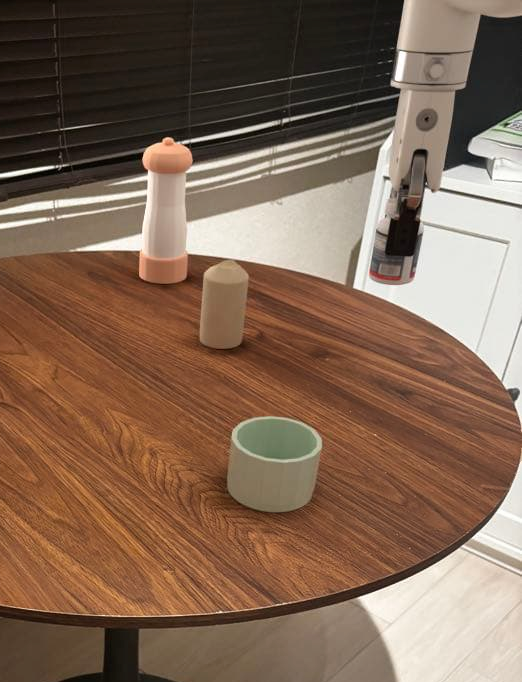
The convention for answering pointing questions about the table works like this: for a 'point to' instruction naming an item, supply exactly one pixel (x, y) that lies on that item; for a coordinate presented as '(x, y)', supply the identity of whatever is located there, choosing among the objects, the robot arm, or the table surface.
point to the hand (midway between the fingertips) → (396, 245)
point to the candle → (223, 305)
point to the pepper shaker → (165, 213)
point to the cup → (273, 463)
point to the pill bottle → (392, 267)
